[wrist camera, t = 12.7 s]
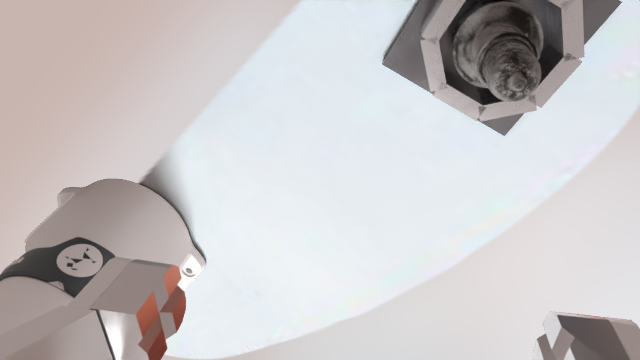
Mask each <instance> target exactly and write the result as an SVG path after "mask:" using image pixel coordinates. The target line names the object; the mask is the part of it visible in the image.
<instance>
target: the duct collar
mask: <svg viewBox="0 0 640 360" xmlns="http://www.w3.org/2000/svg"><path fill="white" fill-rule="evenodd" d="M481 1H483V0H420V1H419V3H418V5H417V6H416V8H415V10H414V11H413V13H412V15H411V16H410V18H409V19H408V21H407V23H406V24H405V26H404V28H403V29H402V31H401V33H400V34H399V36H398V38H397V39H396V41H395V42H394V44H393V46H392V47H391V49H390V51H389V52H388V54H387V56H386V57H385V59H384V61H383V62H382V64H383V65H384V66H386V67H388V68H390V69H391V70H393V71H395V72H396V73H398V74H400V75H401V76H403V77H405V78H407V79H408V80H410V81H412V82H413V83H415V84H417V85H418V86H420V87H422V88H424V89H425V90H427V91H429V92H430V93H432V94H433V96H435V97H436V98H438V99H440V100H442V101H443V102H445V103H447V104H448V105H450V106H452V107H453V108H455V109H457V110H459V111H460V112H462V113H464V114H465V115H467V116H469V117H471V118H472V119H474V120H476V121H477V120H478V121H480V122H481V123H483V124H485V125H487V126H488V127H490V128H492V129H493V130H495V131H497V132H498V133H500V134H502V135H504V136H505V135H506V133H507V132H508V131H509V130H510V129H511V128H512V127H513V126H514V124H515V123H516V122H517V121H518V120H519V119H520V118H521V116H522V115H523V114H524V113H526V112H531V111H536V110H537V109H536V105H537V106H539V107H540V108H541V107H542V106H543V105H544V104H545V103H546V102H547V101H548V99H549V98H550V97H551V96H552V95H553V94H554V93H555V92H556V91H557V89H558V88H559V87H560V86H561V85H562V84H563V83H564V82H565V81H566V79H567V78H568V77H569V76H570V75H571V74H572V73H573V72H574V71H575V69H576V68H577V67H578V66H579V65H580V64H581V63H582V61H581V60H580V59H579V58H582V57H584V45H585V44H586V42H587V41H588V40H589V39H590V38H591V37H592V36H593V34H594V33H595V32H596V31H597V30H598V29H599V28H600V26H601V25H602V24H603V23H604V22H605V21H606V20H607V19H608V17H609V16H610V15H611V14H612V13H613V12H614V11H615V9H616V8H617V7H618V6H619V5H620V4H621V3H622V2H621V1H619V0H509V1H511V2H516V3H518V4H521V5H523V6H526V7H527V8H528V9H529V10H531V11H532V12H533V13H534V14H535V15H536V16H537V18H538V19H539V21H540V23H541V25H542V29H543V33H544V42H543V49H542V52H541V55H540V58H539V59H538V62H539V63H540V67H541V79H540V82H539V85H538V86H537V88H536V89H535V91H534V92H533V93H532V94H531V95H529V96H528V97H526V98H525V99H522V100H519V101H514V102H508V101H503V100H501V99H498V98H497V97H496V96H494V95H493V94H492V93H491V91H490V90H489V88H481V87H478V86H475V85H473V84H470V83H469V82H468V81H466V80H465V79H464V78H463V77H462V76H461V75H460V74H459V72H458V71H457V69H456V67H455V64H454V61H453V56H452V46H453V41H454V32H455V28H456V26H457V23H458V21H459V19H460V18H461V17H462V15H463V14H464V13H465V12H466V11H467V10H468V9H469V8H470V7H472V6H473V5H474V4H476V3H479V2H481Z"/></svg>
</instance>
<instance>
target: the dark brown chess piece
mask: <svg viewBox="0 0 640 360" xmlns="http://www.w3.org/2000/svg"><path fill="white" fill-rule="evenodd" d="M543 42H544V33H543V29H542V25H541V23H540V21H539V19H538V18H537V16H536V15H535V14H534V13H533V12H532V11H531V10H529V9H528V8H527V7H526V6H523V5H521V4H518V3H516V2H511V1H509V0H483V1H481V2H479V3H476V4H474V5H473V6H472V7H470V8H469V9H468V10H467V11H466V12H465V13H464V14H463V15H462V17H461V18H460V19H459V21H458V23H457V26H456V28H455V32H454V41H453V46H452V56H453V61H454V64H455V67H456V69H457V71H458V72H459V74H460V75H461V76H462V77H463V78H464V79H465V80H466V81H468V82H469V83H470V84H473V85H475V86H478V87H481V88H489V90H490V91H491V93H492V94H493V95H494V96H496V97H497V98H498V99H501V100H503V101H508V102H514V101H519V100H522V99H525V98H526V97H528V96H529V95H531V94H532V93H533V92H534V91H535V89H536V88H537V86H538V85H539V82H540V79H541V67H540V63H539V62H538V59H539V58H540V55H541V52H542V49H543Z"/></svg>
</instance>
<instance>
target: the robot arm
mask: <svg viewBox="0 0 640 360" xmlns="http://www.w3.org/2000/svg"><path fill="white" fill-rule="evenodd" d="M57 200H58V208H57V209H56V210H55V211H54V212H53V213H52V214H51V215H50V216H49V217H48V218H46V219H45V220H44V221H43V222H42V223H41V224H40V225H39V226H38V227H37V228H36V229H35V230H33V231H32V232H31V233H30V234H29V235H28V237H27V238H26V240H25V243H26V246H25V248H26V249H25V250H26V253H25V254H24V255H22V256H21V257H20V258H19V259H17V260H15V261H13V262H12V263H11V264H10V265H9V266H8V267H7V268H5V269H4V271H3V273H2V274H1V275H0V360H161V359H162V357H163V355H164V353H165V352H166V350H167V344H166V339H167V338H169V337H170V336H172V335H173V334H175V333H176V332H177V331H178V329H179V327H180V325H181V323H182V321H183V317H184V314H185V310H186V297H185V292H184V290H185V289H186V288H187V287H188V285H189V284H190V283H191V282H192V281H193V280H194V279H195V278H196V277H197V276H198V275H199V274H200V273H201V271H202V270H203V269H204V268H205V266H206V263H205V260H204V259H203V257H202V256H201V254H200V253H199V252H198V250H197V249H196V248H195V247H194V245H193V243H192V241H191V238H190V235H189V232H188V230H187V227H186V225H185V223H184V222H183V220H182V218H181V217H180V215H179V214H178V213H177V212H176V210H175V209H174V208H173V207H172V206H171V205H170V204H169V203H168V202H167V201H166V200H165V199H163V198H162V197H161V196H159V195H158V194H157V193H155V192H153V191H152V190H150V189H148V188H146V187H144V186H142V185H140V184H137V183H134V182H131V181H127V180H122V179H104V180H100V181H97V182H94V183H92V184H90V185H88V186H86V187H83V188H79V187H78V188H76V187H69V188H65V189H63V190H62V191H61V192H60V193H59V194H58V197H57ZM543 327H544V330H545V332H546V334H544V335H543V336H541V337H539V338H538V339H537V340H536V343H535V347H534V350H533V360H640V329H639V327H638V326H637V324H635V323H634V322H633V321H632V320H625V319H617V318H607V317H603V318H602V317H597V316H589V315H580V314H571V313H562V312H553V311H550V312H549V313H548V314H547V315H546V317H545V319H544V322H543Z"/></svg>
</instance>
